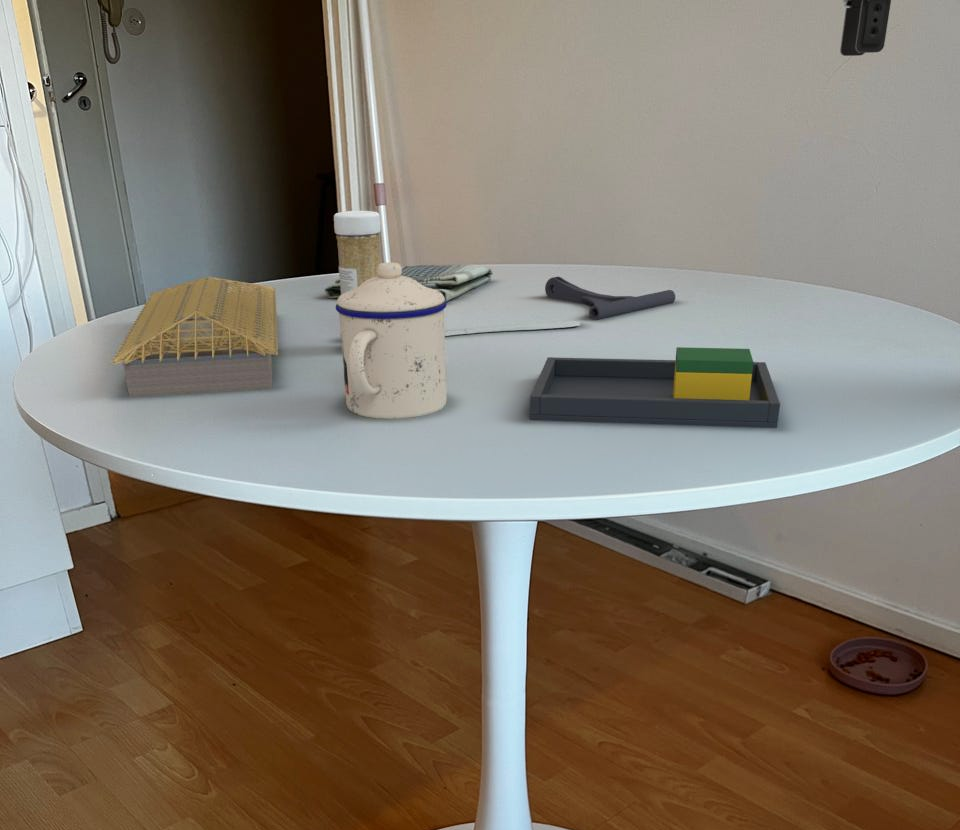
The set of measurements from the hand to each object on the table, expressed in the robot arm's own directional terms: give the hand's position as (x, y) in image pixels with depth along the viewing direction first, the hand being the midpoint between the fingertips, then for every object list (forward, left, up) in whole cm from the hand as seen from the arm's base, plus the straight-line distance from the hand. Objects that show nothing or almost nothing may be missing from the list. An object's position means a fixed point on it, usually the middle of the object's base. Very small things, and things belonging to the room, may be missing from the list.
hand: (860, 54), depth 88 cm
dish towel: (+49, -33, -26) cm, 65 cm away
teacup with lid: (+38, +24, -26) cm, 52 cm away
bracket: (+24, -25, -26) cm, 44 cm away
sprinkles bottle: (+46, +2, -26) cm, 53 cm away
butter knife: (+37, -6, -26) cm, 46 cm away
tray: (+16, +19, -26) cm, 36 cm away
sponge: (+11, +21, -26) cm, 35 cm away
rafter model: (+62, +5, -26) cm, 68 cm away
